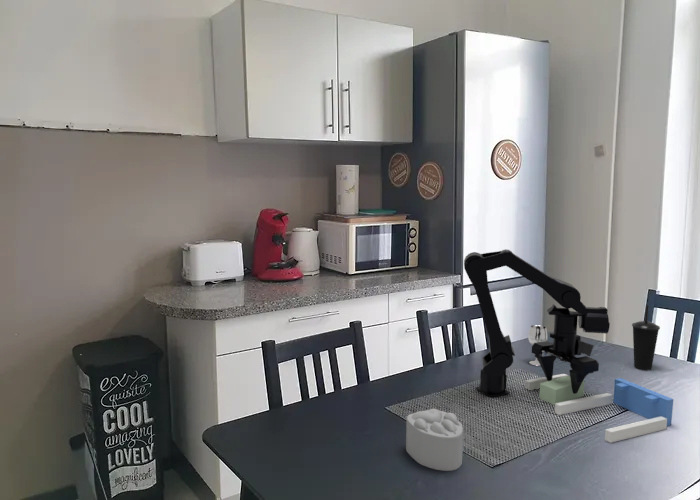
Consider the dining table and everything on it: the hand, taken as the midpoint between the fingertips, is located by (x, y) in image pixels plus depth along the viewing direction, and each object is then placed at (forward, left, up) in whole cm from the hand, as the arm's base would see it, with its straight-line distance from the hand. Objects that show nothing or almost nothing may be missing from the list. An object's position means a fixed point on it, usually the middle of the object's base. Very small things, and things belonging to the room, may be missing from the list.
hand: (561, 387), depth 146 cm
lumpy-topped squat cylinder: (-48, -14, -3) cm, 50 cm away
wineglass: (+13, +24, -3) cm, 28 cm away
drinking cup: (+41, +8, -3) cm, 42 cm away
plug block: (0, 0, -3) cm, 3 cm away
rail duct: (+2, -8, -3) cm, 8 cm away
